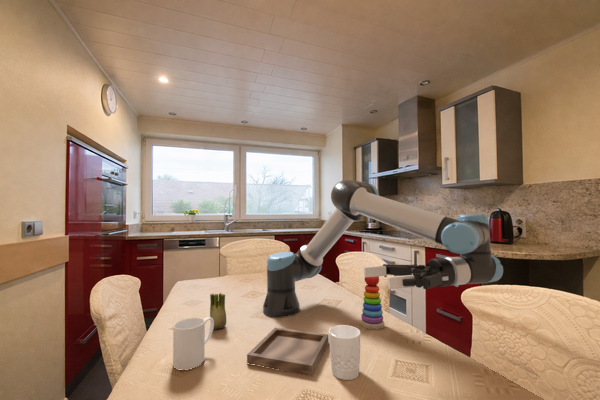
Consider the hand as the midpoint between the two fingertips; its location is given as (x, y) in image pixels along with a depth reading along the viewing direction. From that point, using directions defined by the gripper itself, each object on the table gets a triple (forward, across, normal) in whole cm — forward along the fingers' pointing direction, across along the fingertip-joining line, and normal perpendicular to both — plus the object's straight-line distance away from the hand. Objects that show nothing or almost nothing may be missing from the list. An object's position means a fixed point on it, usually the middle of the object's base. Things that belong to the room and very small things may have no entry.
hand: (375, 277), depth 70 cm
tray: (+21, +12, -22) cm, 33 cm away
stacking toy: (-10, +24, -23) cm, 35 cm away
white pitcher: (+48, +15, -22) cm, 54 cm away
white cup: (+9, 0, -23) cm, 25 cm away
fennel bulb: (+44, +36, -22) cm, 60 cm away
